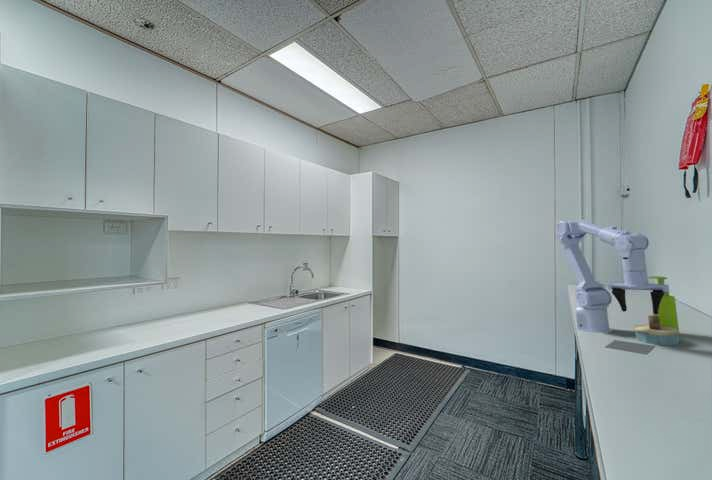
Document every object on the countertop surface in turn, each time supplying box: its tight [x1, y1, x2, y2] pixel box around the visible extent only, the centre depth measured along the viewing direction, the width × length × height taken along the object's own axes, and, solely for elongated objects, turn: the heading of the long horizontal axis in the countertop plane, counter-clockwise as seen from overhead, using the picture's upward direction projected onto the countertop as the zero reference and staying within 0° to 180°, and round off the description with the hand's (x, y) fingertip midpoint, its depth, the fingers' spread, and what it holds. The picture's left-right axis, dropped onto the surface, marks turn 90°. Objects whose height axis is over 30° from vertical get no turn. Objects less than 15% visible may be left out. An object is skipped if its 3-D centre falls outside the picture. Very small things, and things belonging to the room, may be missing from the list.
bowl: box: [634, 330, 680, 346], centre depth 99 cm, size 10×10×4 cm
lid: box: [633, 315, 678, 336], centre depth 99 cm, size 10×10×5 cm
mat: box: [604, 339, 656, 355], centre depth 96 cm, size 10×10×1 cm
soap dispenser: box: [648, 275, 680, 337], centre depth 106 cm, size 6×7×20 cm
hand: (639, 312), depth 98 cm, fingers open, 7 cm apart
